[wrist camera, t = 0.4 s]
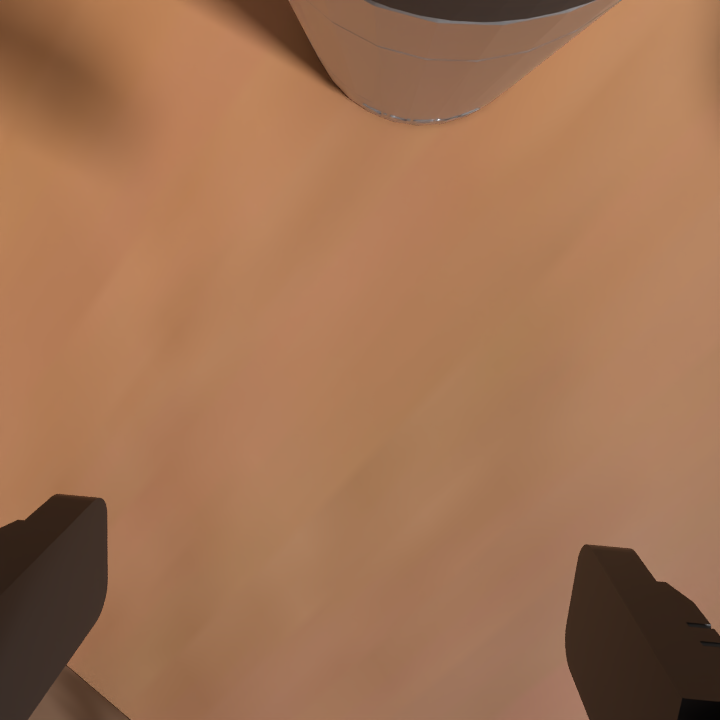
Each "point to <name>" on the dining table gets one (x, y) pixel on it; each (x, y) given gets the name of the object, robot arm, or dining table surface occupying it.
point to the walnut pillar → (74, 701)
